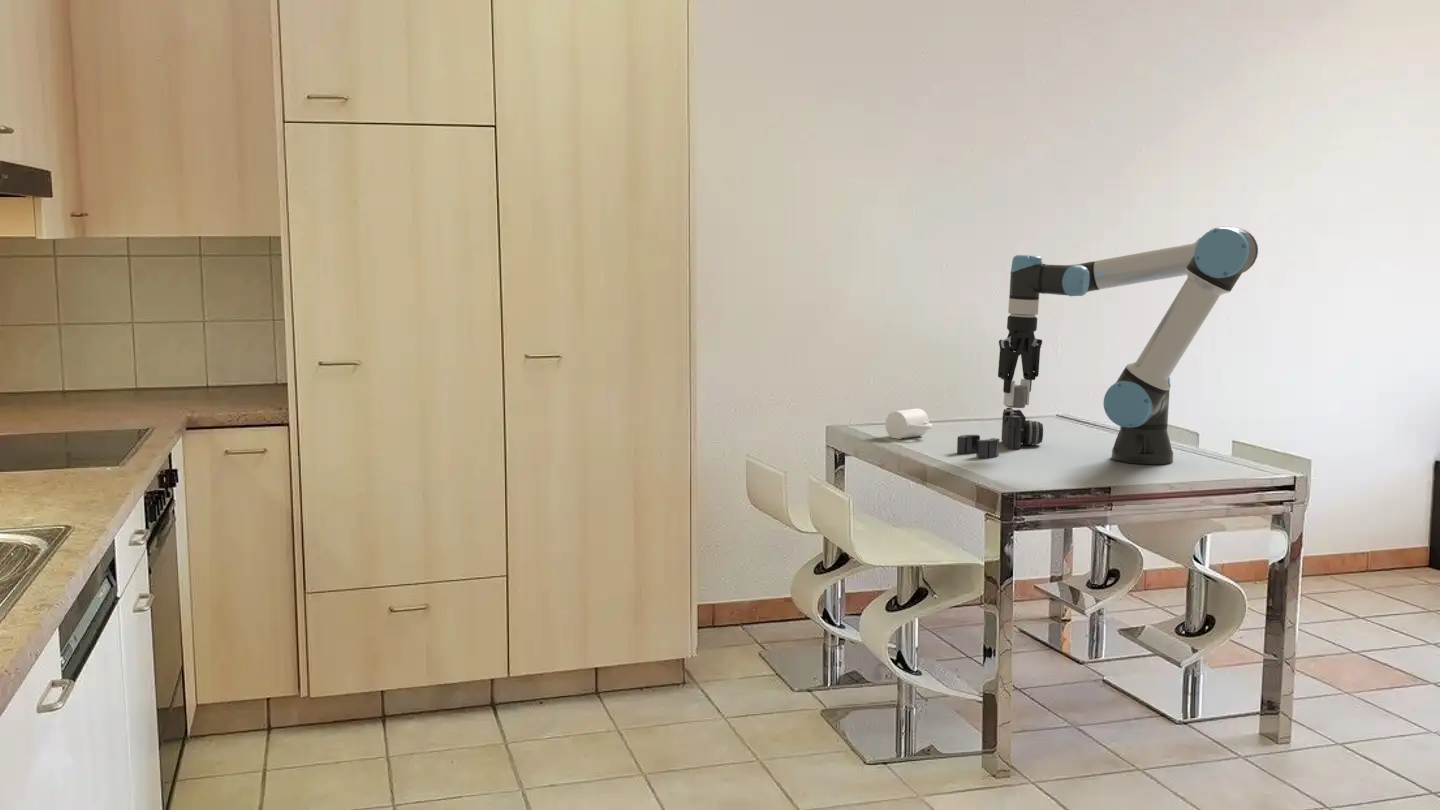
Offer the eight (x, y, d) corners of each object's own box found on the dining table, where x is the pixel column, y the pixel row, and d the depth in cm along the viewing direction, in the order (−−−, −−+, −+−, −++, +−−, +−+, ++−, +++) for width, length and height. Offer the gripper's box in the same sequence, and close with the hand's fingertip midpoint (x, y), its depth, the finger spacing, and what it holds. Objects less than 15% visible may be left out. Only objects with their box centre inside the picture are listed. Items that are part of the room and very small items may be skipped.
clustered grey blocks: (1002, 456, 347) (1003, 439, 346) (981, 458, 343) (982, 441, 342) (972, 450, 356) (973, 433, 355) (952, 452, 352) (952, 436, 351)
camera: (1046, 450, 357) (1048, 414, 356) (1006, 450, 358) (1007, 413, 356) (1037, 442, 371) (1038, 406, 370) (997, 441, 372) (999, 406, 370)
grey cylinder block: (1029, 407, 345) (1030, 386, 344) (1015, 408, 342) (1017, 387, 341) (1015, 404, 349) (1016, 384, 348) (1001, 405, 346) (1003, 384, 345)
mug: (884, 437, 377) (885, 409, 376) (907, 434, 384) (908, 406, 383) (917, 443, 368) (917, 414, 367) (940, 439, 375) (941, 411, 374)
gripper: (1036, 313, 349) (1030, 401, 353) (986, 314, 340) (980, 404, 343) (1058, 316, 343) (1051, 405, 347) (1008, 317, 334) (1001, 408, 337)
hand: (1016, 404), depth 345 cm, fingers closed on grey cylinder block, 5 cm apart
